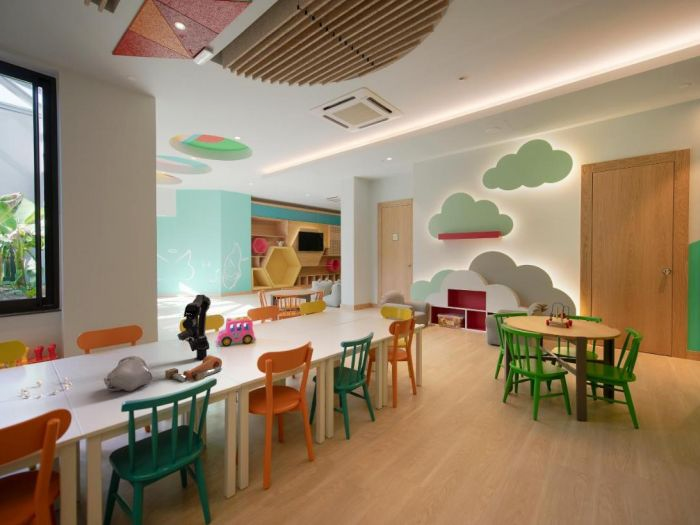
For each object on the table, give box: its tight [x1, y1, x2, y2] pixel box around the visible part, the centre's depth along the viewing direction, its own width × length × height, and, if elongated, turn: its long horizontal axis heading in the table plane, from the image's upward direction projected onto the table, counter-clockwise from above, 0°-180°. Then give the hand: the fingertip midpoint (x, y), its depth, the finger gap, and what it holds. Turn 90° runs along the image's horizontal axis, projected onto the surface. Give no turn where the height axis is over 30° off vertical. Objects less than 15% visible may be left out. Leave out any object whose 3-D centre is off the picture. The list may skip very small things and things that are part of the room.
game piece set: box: [18, 377, 73, 399], centre depth 163 cm, size 19×20×4 cm
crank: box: [182, 354, 223, 381], centre depth 189 cm, size 20×8×8 cm, turn 145°
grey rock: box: [103, 355, 153, 392], centre depth 166 cm, size 20×18×15 cm
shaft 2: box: [191, 366, 222, 382], centre depth 185 cm, size 16×5×4 cm, turn 148°
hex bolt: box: [164, 367, 188, 383], centre depth 179 cm, size 14×5×4 cm, turn 58°
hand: (193, 351), depth 193 cm, fingers closed
